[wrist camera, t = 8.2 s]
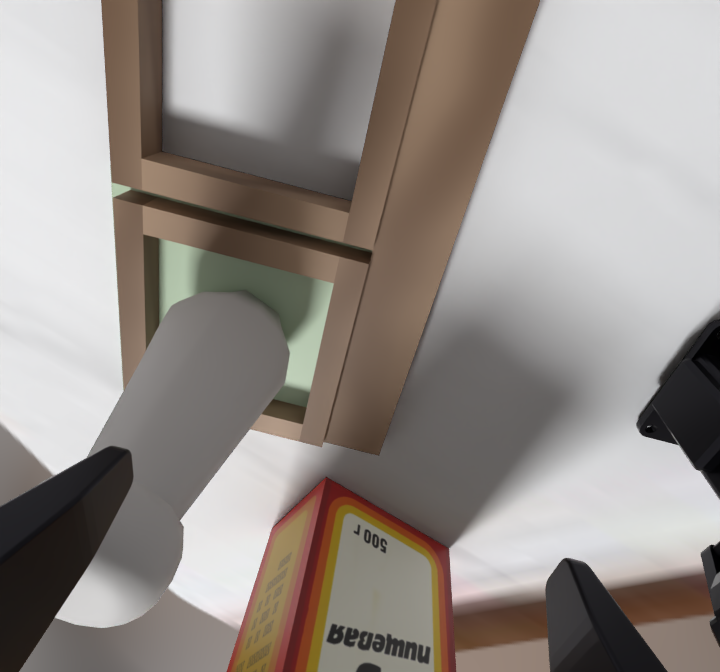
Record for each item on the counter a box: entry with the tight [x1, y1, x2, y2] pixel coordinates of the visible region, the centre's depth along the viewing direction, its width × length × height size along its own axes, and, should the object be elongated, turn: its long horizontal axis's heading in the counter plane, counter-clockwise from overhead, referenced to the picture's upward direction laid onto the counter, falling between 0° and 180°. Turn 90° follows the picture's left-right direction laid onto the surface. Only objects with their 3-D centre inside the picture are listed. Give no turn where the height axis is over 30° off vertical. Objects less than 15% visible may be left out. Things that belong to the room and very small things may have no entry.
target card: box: [110, 165, 372, 407], centre depth 22 cm, size 12×12×1 cm
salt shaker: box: [40, 290, 290, 628], centre depth 17 cm, size 6×6×13 cm
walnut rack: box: [101, 0, 540, 456], centre depth 19 cm, size 13×21×2 cm, turn 167°
